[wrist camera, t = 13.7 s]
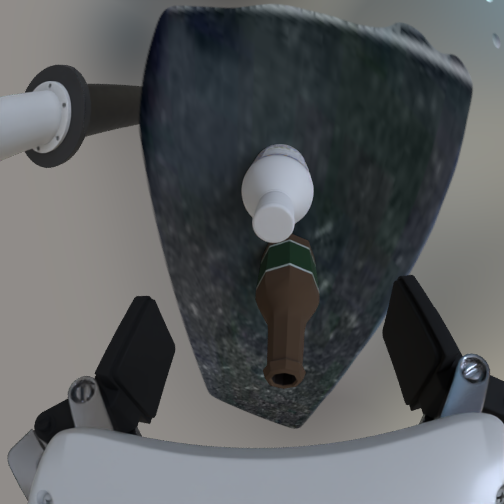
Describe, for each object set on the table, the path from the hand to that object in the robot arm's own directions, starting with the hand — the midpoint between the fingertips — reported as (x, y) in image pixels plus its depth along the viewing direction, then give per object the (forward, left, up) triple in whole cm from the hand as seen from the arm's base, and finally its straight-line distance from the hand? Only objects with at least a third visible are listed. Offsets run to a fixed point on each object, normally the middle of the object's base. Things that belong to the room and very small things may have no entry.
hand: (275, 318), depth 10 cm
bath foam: (+1, -1, -30) cm, 30 cm away
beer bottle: (+1, -14, -30) cm, 33 cm away
